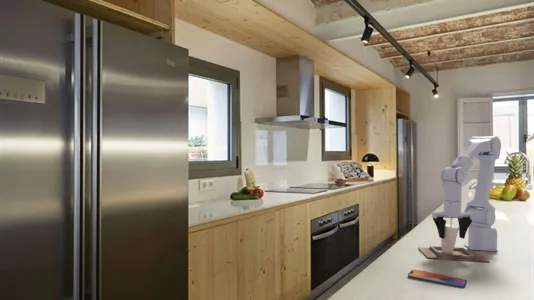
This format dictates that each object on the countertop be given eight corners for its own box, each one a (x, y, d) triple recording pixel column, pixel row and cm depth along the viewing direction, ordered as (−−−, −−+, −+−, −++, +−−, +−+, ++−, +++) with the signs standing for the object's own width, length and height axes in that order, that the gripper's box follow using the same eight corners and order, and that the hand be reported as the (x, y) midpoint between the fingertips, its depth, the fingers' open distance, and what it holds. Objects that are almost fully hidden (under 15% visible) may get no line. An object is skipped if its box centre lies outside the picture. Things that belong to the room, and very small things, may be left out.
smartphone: (464, 290, 104) (464, 286, 104) (407, 278, 112) (407, 275, 112) (466, 283, 110) (467, 279, 110) (412, 272, 118) (412, 269, 118)
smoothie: (460, 255, 136) (463, 216, 136) (442, 254, 136) (446, 215, 136) (451, 250, 143) (454, 213, 142) (434, 249, 143) (437, 212, 142)
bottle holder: (473, 251, 144) (473, 247, 144) (489, 262, 130) (489, 258, 130) (417, 248, 146) (418, 244, 146) (427, 258, 133) (427, 254, 133)
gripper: (465, 199, 143) (464, 235, 143) (427, 198, 142) (427, 235, 142) (476, 201, 136) (476, 239, 136) (437, 201, 135) (436, 239, 134)
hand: (451, 237), depth 138 cm, fingers open, 7 cm apart
